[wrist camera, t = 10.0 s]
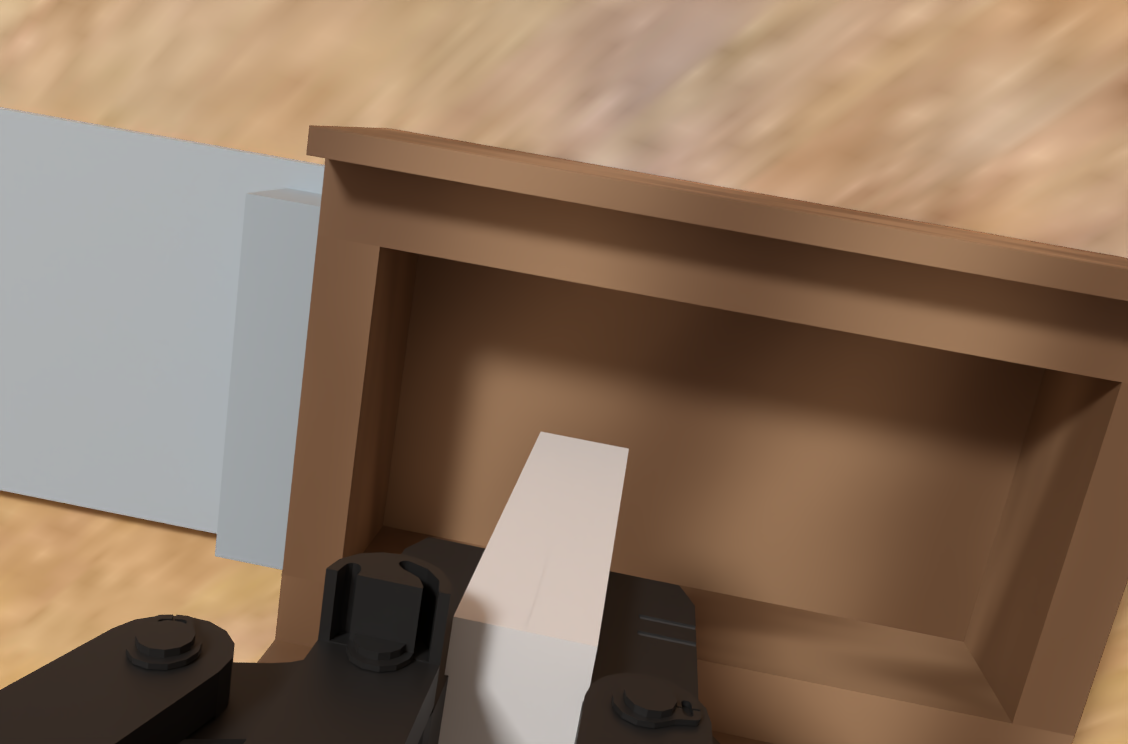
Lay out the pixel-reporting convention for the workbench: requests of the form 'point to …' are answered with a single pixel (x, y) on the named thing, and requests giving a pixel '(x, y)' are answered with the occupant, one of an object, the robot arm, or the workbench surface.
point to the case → (733, 426)
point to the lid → (154, 326)
